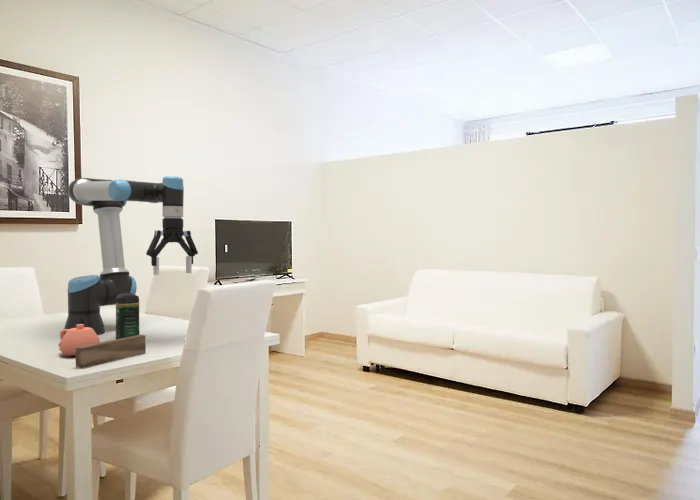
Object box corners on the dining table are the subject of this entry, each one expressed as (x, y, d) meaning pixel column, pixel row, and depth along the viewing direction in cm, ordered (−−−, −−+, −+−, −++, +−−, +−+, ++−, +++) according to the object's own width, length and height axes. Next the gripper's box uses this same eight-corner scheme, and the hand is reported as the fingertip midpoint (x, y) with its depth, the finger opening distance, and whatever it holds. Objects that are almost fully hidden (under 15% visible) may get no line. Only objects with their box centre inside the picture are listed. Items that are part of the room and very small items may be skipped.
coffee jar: (141, 343, 200) (141, 293, 200) (118, 345, 196) (118, 294, 195) (136, 339, 208) (135, 291, 208) (114, 341, 204) (113, 292, 203)
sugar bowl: (84, 359, 174) (84, 328, 174) (46, 357, 177) (46, 326, 176) (108, 351, 186) (107, 322, 186) (71, 349, 189) (71, 320, 189)
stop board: (75, 367, 164) (75, 347, 164) (139, 352, 185) (139, 334, 185) (82, 368, 162) (82, 348, 162) (145, 352, 184) (145, 335, 184)
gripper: (146, 216, 192) (146, 276, 192) (207, 218, 210) (206, 272, 211) (136, 216, 197) (136, 274, 197) (196, 218, 215) (196, 271, 216)
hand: (172, 274), depth 204 cm, fingers open, 13 cm apart
